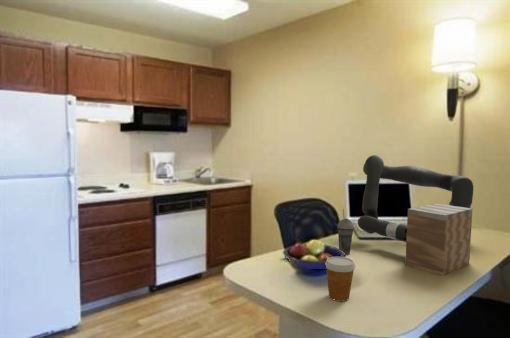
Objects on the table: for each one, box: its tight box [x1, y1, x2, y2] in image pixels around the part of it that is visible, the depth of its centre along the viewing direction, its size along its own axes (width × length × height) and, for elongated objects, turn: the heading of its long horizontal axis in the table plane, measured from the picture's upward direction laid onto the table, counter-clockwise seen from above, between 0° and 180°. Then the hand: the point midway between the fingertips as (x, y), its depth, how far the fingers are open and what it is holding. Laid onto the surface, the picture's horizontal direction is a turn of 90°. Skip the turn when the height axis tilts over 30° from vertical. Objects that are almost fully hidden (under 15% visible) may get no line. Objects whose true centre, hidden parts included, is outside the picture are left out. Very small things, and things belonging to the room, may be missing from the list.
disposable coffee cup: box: [325, 256, 356, 302], centre depth 119 cm, size 10×10×12 cm
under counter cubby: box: [405, 202, 473, 276], centre depth 151 cm, size 23×15×23 cm, turn 128°
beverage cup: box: [336, 208, 355, 256], centre depth 164 cm, size 7×7×20 cm
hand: (437, 240), depth 151 cm, fingers closed on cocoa, 4 cm apart
